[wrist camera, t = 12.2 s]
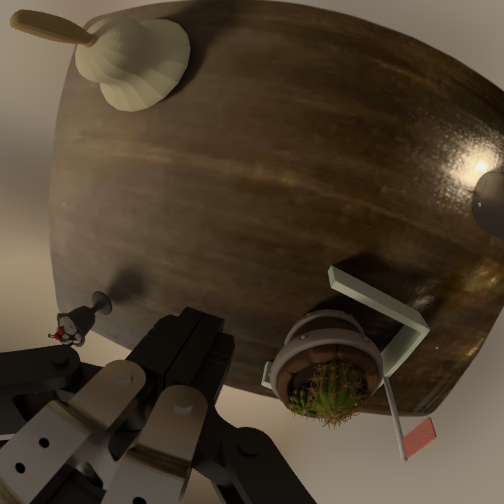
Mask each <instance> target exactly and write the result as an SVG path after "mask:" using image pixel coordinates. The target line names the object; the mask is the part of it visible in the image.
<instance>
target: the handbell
mask: <svg viewBox="0 0 504 504" xmlns="http://www.w3.org/2000/svg"><path fill="white" fill-rule="evenodd" d="M10 25H11V27H13V28H15V29H18V30H20V31H23V32H26V33H29V34H32V35H35V36H38V37H41V38H45V39H48V40H52V41H57V42H62V43H71V44H78V46H77V50H76V54H75V56H76V66H77V68H78V70H79V72H80V74H81V75H82V76H84V77H85V78H87V79H88V80H90V81H92V82H96V83H100V86H101V91H102V93H103V95H104V97H105V98H106V100H107V102H108V103H109V104H111V105H112V106H114V107H115V108H116V109H118V110H123V111H130V112H134V111H138V110H141V109H145V108H149V107H150V106H152V105H154V104H155V103H157V102H158V101H160V100H162V99H163V98H165V97H166V96H167V95H168V93H169V92H170V91H171V90H172V89H173V88H174V87H175V86H176V85H177V84H178V83H179V81H180V79H181V77H182V75H183V73H184V71H185V70H186V68H187V66H188V60H189V55H190V50H191V48H190V44H189V39H188V34H187V33H186V32H185V31H184V30H183V28H182V27H181V26H180V25H179V24H177V23H175V22H172V21H169V20H167V19H154V20H147V21H144V22H141V23H139V22H137V21H136V20H134V19H132V18H129V17H126V16H122V15H118V16H111V17H107V18H104V19H102V20H100V21H98V22H97V23H95V24H94V25H93V26H91V27H90V28H89V29H88V30H87V31H85V30H84V29H82V28H81V27H79V26H78V25H76V24H75V23H73V22H71V21H69V20H67V19H64V18H61V17H58V16H55V15H51V14H47V13H43V12H37V11H32V10H19V11H17V12H15V14H13V15H12V17H11V19H10Z"/></svg>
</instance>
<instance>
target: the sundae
mask: <svg viewBox="0 0 504 504" xmlns="http://www.w3.org/2000/svg"><path fill="white" fill-rule="evenodd" d="M92 302H93V305H94V306H93V307H92V308H91V309H90V308H89V307H86V306H81V307H79V308H76V309H74V310H73V311H71V312H69V313H59V314H58V316H57V321H58V327H57V329H56V333H55V334H54V335H52V336H54V337H52V338H55V339H56V340H59V341H60V342H61V343H62V345H66V346H69V347H70V346H72V345H75V346H77V347H81V346H82V345H83V344H84V342H85V335H86V334H87V333H88V332H89V330H90V329H91V328H92V326H93V325H94V323H95V315H94V313H95V312H96V311H99V312H100V313H101V314H104V315H108V314H110V312H111V304H110V301H109V300H108V298H107V297H106V296H105V295H104V294H102V293H100V292H95V293H93V295H92ZM50 335H51V334H48V337H51V336H50Z"/></svg>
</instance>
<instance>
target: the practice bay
mask: <svg viewBox="0 0 504 504" xmlns="http://www.w3.org/2000/svg"><path fill="white" fill-rule="evenodd" d="M328 275H329V279H330V284H331V288H333V289H335V290H337V291H339V292H341V293H343V294H345V295H347V296H349V297H351V298H353V299H355V300H357V301H359V302H361V303H363V304H365V305H367V306H369V307H371V308H373V309H375V310H377V311H379V312H381V313H383V314H385V315H387V316H389V317H391V318H393V319H395V320H397V321H399V322H401V323H403V324H404V325H403V327H402V328H401V329H400V331H399V332H398V333H397V334H396V336H395V337H394V338H393V339H392V340H391V342H390V343H389V344H388V345H387V346H386V348H385V349H384V350H383V351H382V352H381V353H380V354H381V357H382V360H383V367H384V374H383V375H384V377H383V379H382V382H381V384H380V386H381V385H382V384H383V383H384V384H385V388H386V392H387V396H388V400H389V404H390V408H391V413H392V417H393V421H394V426H395V430H396V435H397V440H398V445H399V451H400V456H401V461H402V462H406V461H407V460H408V457H410V456H411V455H413V454H414V453H416V452H417V451H419V450H420V449H422V448H423V447H424V446H425V445H427V444H428V443H430V442H431V441H432V440H433V439H435V438H436V437H437V436H436V433H435V430H434V427H433V423H432V420H431V418H430V417H428V418H427V419H426V420H425V421H423V422H422V423H421V424H420V425H419V426H417V427H416V428H415V429H414V430H413V431H411V432H410V433H408V434H407V435H406V436H405V437H403V434H402V430H401V425H400V421H399V417H398V413H397V409H396V405H395V401H394V398H393V394H392V390H391V387H390V383H389V380H388V378H389V377H390V376H391V375H392V374H393V373H394V372H395V371H396V369H397V368H398V367H399V366H400V365H401V364H402V363H403V362H404V361H405V360H406V358H407V357H408V356H409V355H410V354H411V353H412V352H413V350H414V349H415V348H416V347H417V346H418V345H419V343H420V342H421V341H422V340H423V338H424V337H425V336H426V335H427V333H428V332H429V331H430V329H429V327H428V325H427V324H426V322H425V321H424V319H423V317H422V316H421V314H420V313H419V312H418V311H416V310H414V309H412V308H411V307H409V306H407V305H405V304H403V303H402V302H400V301H398V300H396V299H394V298H392V297H390V296H389V295H387V294H385V293H383V292H381V291H379V290H377V289H376V288H374V287H372V286H370V285H368V284H366V283H364V282H362V281H361V280H359V279H357V278H355V277H353V276H351V275H349V274H347V273H345V272H343V271H341V270H340V269H338V268H336V267H334V266H332V265H331V267H330V269H329V270H328ZM272 364H273V363H272V362H270V361H268V362H267V363H266V365H265V370H264V375H263V379H262V384H261V385H263V386H265V387H268V388H270V389H272V387H271V382H270V376H268V373H269V372H270V371H271V367H272ZM380 386H379V387H380Z"/></svg>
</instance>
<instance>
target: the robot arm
mask: <svg viewBox="0 0 504 504" xmlns="http://www.w3.org/2000/svg"><path fill="white" fill-rule="evenodd" d="M473 212H474V217H475V219H476V222H477V223H478V225H479V226H480V227H481V228H482V229H483V230H485V231H487V232H489V233H490V234H492V235H494V236H496V237H498V238H499V239H501V240H503V241H504V174H500V173H495V172H490V173H486V174H485V175H483V176H482V177H481V178H480V179H479V181H478V183H477V185H476V187H475V190H474V194H473ZM224 321H225V320H224V319H222V318H219V317H216V316H213V315H210V314H207V313H206V314H205V313H204V312H201V311H198V310H196V309H193V308H190V307H186V308H185V309H184V310H183V312H182V313H181V314H180V315H179V317H177V316H174V315H172V314H170V315H168V316H165V317H163V318H161V319H159V320H158V322H157V323H156V324H155V325H154V326H153V328H152V329H151V330H150V331H149V332H148V333H147V335H145V337H144V338H143V339H142V340H141V341H140V342H139V344H138V345H137V346H136V347H135V348H134V350H133V351H132V352H131V353H130V354H129V355H128V357H127V358H126V359H125V360H115V361H112V362H110V363H108V364H107V365H106V366H105V367H100V366H96V365H92V364H88V363H83V362H81V361H80V357H79V355H78V353H77V352H76V351H75V350H74V349H73V348H71V347H69V346H66V345H54V346H48V347H41V348H34V349H27V350H20V351H12V352H3V353H0V435H4V434H15V435H14V436H13V437H12V438H11V439H10V440H1V441H0V504H182V502H183V499H184V495H185V491H186V488H187V485H188V482H189V478H190V475H191V472H192V468H194V469H195V470H196V471H198V472H199V473H201V474H202V475H204V476H205V477H207V478H208V479H210V480H211V483H212V485H213V487H214V489H215V491H216V493H217V495H218V496H219V499H220V500H221V502H222V504H317V503H316V502H315V500H314V499H313V498H312V497H311V495H310V494H309V493H308V491H307V490H306V489H305V487H304V486H303V485H302V483H301V482H300V480H299V479H298V478H297V476H296V475H295V473H294V472H293V471H292V469H291V468H290V466H289V465H288V463H287V462H286V460H285V459H284V457H283V456H282V455H281V453H280V452H279V450H278V449H277V447H276V446H275V444H274V442H273V441H272V440H271V438H270V437H269V436H268V435H267V434H265V433H264V432H262V431H260V430H258V429H255V428H251V427H241V428H236V427H234V426H233V425H231V424H229V423H228V422H226V421H225V420H224V419H223V418H221V417H220V416H219V414H218V413H217V411H216V409H215V404H216V402H217V399H218V396H219V394H220V391H221V389H222V386H223V384H224V382H225V379H226V376H227V374H228V371H229V367H230V363H231V360H232V356H233V353H234V349H235V343H234V338H233V336H232V335H228V334H225V333H222V331H223V326H224ZM48 390H49V391H48ZM35 392H36V393H35ZM28 393H29V394H28Z"/></svg>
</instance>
